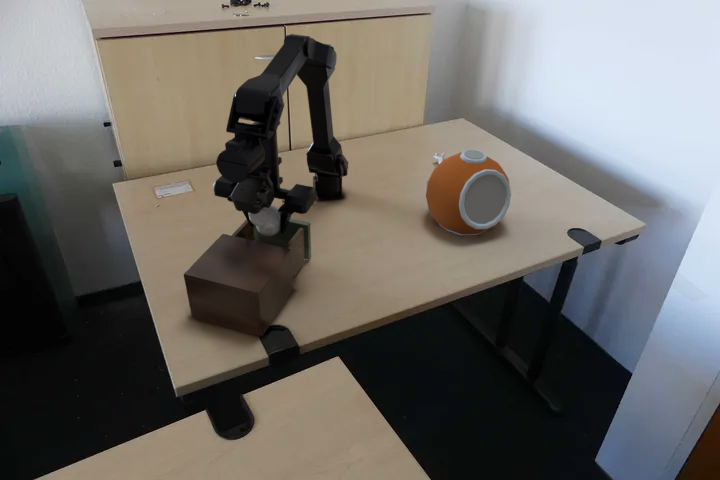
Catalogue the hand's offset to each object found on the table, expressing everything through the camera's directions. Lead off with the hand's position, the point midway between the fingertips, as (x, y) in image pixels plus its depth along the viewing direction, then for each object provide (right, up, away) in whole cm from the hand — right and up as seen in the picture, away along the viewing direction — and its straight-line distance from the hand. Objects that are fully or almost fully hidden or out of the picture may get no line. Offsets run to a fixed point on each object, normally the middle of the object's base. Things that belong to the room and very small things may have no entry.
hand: (267, 229), depth 105 cm
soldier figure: (+41, +16, +44) cm, 62 cm away
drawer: (0, -6, +7) cm, 9 cm away
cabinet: (-4, -14, -3) cm, 15 cm away
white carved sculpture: (0, -1, +1) cm, 1 cm away
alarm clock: (+43, +2, +23) cm, 49 cm away
